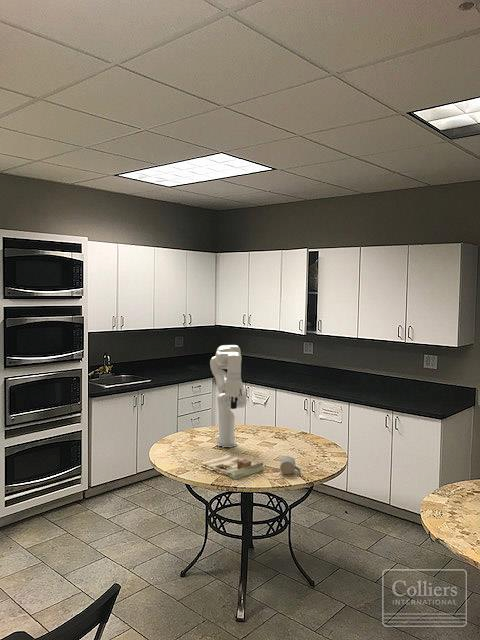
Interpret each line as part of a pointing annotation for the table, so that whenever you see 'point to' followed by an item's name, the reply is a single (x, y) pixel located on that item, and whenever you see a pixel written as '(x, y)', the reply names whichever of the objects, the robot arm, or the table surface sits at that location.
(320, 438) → the table surface
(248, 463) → the walnut block
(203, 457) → the table surface
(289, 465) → the ceramic mug
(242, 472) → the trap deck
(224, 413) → the robot arm
